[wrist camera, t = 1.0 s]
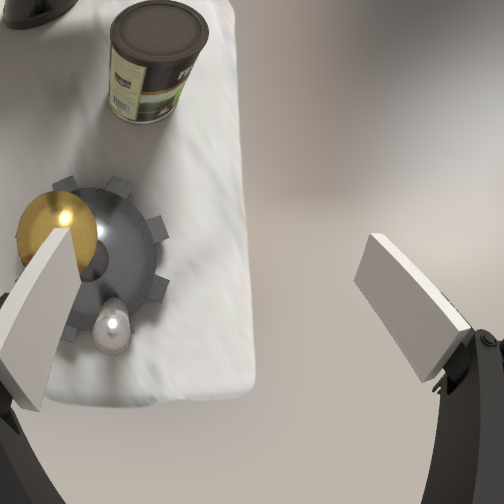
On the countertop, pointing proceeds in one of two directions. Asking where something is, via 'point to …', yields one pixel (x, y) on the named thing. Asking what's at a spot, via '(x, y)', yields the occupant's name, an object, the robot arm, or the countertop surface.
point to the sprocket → (99, 256)
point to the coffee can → (152, 58)
